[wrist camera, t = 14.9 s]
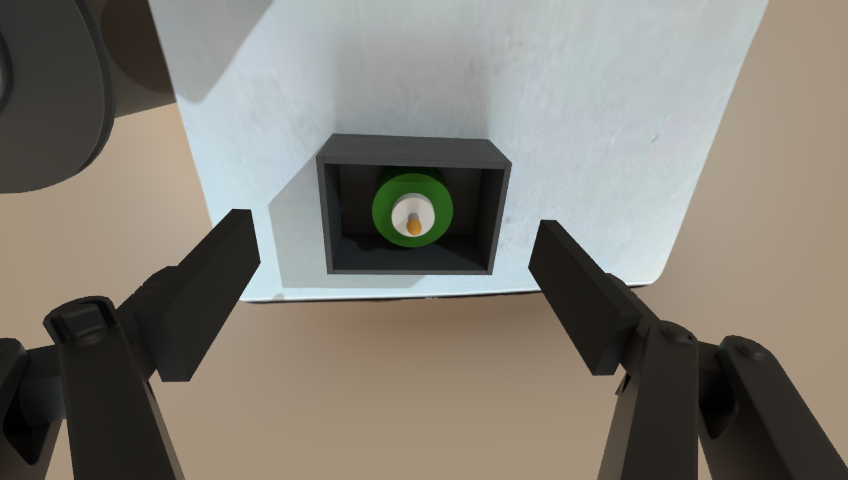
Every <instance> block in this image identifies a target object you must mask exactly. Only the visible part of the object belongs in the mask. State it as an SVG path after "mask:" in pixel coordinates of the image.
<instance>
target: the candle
mask: <svg viewBox="0 0 848 480" xmlns="http://www.w3.org/2000/svg"><path fill="white" fill-rule="evenodd" d="M372 215H373V220H374V223H375V226H376V227H377V229H378V231H379V232H380V233H381V234H382V235H383V236H384V237H385V238H386V239H387V240H389V241H390V242H392V243H394V244H397V245H400V246H404V247H421V246H424V245H428V244H430V243H432V242H434V241H435V240H437V239H438V238H440V237H441V236H442V235H443V234H444V233H445V231H446V230H447V228H448V227H449V225H450V222H451V220H452V215H453V204H452V200H451V197H450V194H449V191H448V188H447V185H446V182H445V180H444V178H443V176H442V174H441V172H440V171H439V170H438V168H436V167H424V166H393V165H388V166H387V167H385V168H384V170H383V171H382V172H381V173H380V175H379V177H378V179H377V182H376V186H375V192H374V199H373V205H372Z"/></svg>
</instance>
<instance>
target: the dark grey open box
mask: <svg viewBox="0 0 848 480" xmlns="http://www.w3.org/2000/svg"><path fill="white" fill-rule="evenodd" d="M316 162H317V172H318V183H319V193H320V203H321V213H322V224H323V234H324V244H325V254H326V264H327V274H376V275H492V272H493V266H494V261H495V255H496V250H497V244H498V239H499V233H500V228H501V222H502V216H503V211H504V205H505V200H506V194H507V189H508V183H509V178H510V172H511V166H512V163H511V162H510V161H509V160H508V159H507V158H506V157H505V156H504V154H503V153H502V152H501V151H500V150H499V149H498V148H497V147H496V146H495V145H494V144H493V143H492V142H491V141H490V140H484V139H459V138H434V137H409V136H383V135H358V134H332V136H331V137H330V138H329V140H328V141H327V142H326V144H325V145H324V146H323V148H322V149H321V150H320V152H319V153H318V154H317V156H316ZM388 165H393V166H424V167H436V168H438V170H439V171H440V172H441V174H442V176H443V178H444V180H445V182H446V185H447V188H448V191H449V194H450V197H451V200H452V204H453V215H452V220H451V222H450V225H449V227H448V228H447V230H446V231H445V233H444V234H443V235H442V236H441V237H440V238H438V239H437V240H435V241H434V242H432V243H430V244H428V245H424V246H421V247H404V246H400V245H397V244H394V243H392V242H390V241H389V240H387V239H386V238H385V237H384V236H383V235H382V234H381V233H380V232H379V231H378V229H377V227H376V226H375V223H374V220H373V215H372V205H373V199H374V192H375V186H376V182H377V179H378V177H379V175H380V173H381V172H382V171H383V170H384V168H385V167H387V166H388Z"/></svg>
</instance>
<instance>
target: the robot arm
mask: <svg viewBox="0 0 848 480" xmlns="http://www.w3.org/2000/svg"><path fill="white" fill-rule="evenodd" d="M12 87H13V67H12V62H11V57H10V54H9V51H8V48H7V45H6V43H5V40H4V38H3V36H2V34H1V32H0V110H1V109H2V108H3V107H4V106H5V105H6V103H7V102H8V100H9V97H10V95H11V91H12ZM260 263H261V262H260V256H259V251H258V245H257V240H256V234H255V229H254V224H253V218H252V213H251V210H249V209H232V210H231V211H230V212H229V213H228V214H227V215H226V216H225V217H224V218H223V219H222V220H221V221H220V222H219V223H218V224H217V225H216V226H215V227H214V228H213V229H212V230H211V231H210V232H209V234H208V235H207V236H206V237H205V238H204V239H203V240H202V241H201V242H200V243H199V244H198V245H197V246H196V247H195V248H194V249H193V250H192V251H191V252H190V253H189V254H188V255H187V256H186V257H185V258H184V259H183V260H182V261H181V262H180V263H179V265H178V266H167V267H165V268H164V269H162V270H160V271H158V272H156V273H154V274H153V275H152V276H151V277H150V278H148V279H147V280H146V281H145V282H144V283H143V286H140V287H139V288H138V289H137V290H136V291H135V293H134V294H132V295H131V296H130V297H129V298H128V299H127V300H126V301H124V302H123V303H122V304H121V305H120V306H119V307H118V308H117V309H115V307H114V305H113V303H112V301H111V300H110V299H109V298H108V297H104V296H88V297H84V298H79V299H76V300H73V301H70V302H67V303H65V304H62V305H61V306H59V307H57V308H55V309H54V310H52V311H51V312H50V313H49V314H48V315H47V316H46V317H45V318H44V321H43V325H44V327H45V328H46V330H47V332H48V333H49V335H50V337H51V338H52V340H53V341H54V343H55V345H50V346H45V347H40V348H35V349H30V350H25V349H24V347H23V346H22V344H21V343H20V342H19V341H18V340H16V339H14V338H0V480H45V476H46V473H47V470H48V467H49V463H50V460H51V456H52V453H53V450H54V447H55V443H56V440H57V436H58V433H59V429H60V426H61V423H62V420H63V419H67V427H68V435H69V443H70V451H71V459H72V467H73V475H74V480H185V477H184V475H183V472H182V469H181V467H180V464H179V461H178V458H177V456H176V453H175V450H174V447H173V445H172V442H171V439H170V436H169V434H168V431H167V428H166V426H165V423H164V420H163V417H162V414H161V412H160V409H159V406H158V404H157V401H156V398H155V395H154V392H153V390H152V387H151V385H150V383H149V381H148V380H149V378H150V377H151V375H152V374H153V373H154V371H155V370H156V369H157V371H158V373H159V375H160V377H161V380H162V382H182V381H183V382H186V381H187V382H188V381H190V379H191V378H192V376H193V374H194V373H195V371H196V369H197V368H198V366H199V364H200V363H201V361H202V359H203V358H204V356H205V354H206V353H207V351H208V349H209V348H210V346H211V344H212V342H213V341H214V339H215V338H216V336H217V334H218V333H219V331H220V330H221V328H222V326H223V325H224V323H225V321H226V319H227V318H228V316H229V314H230V313H231V311H232V310H233V308H234V306H235V305H236V303H237V301H238V300H239V298H240V296H241V295H242V293H243V291H244V290H245V288H246V286H247V285H248V283H249V281H250V280H251V278H252V276H253V275H254V273H255V271H256V270H257V268H258V267H259V265H260ZM528 269H529V271H530V272H531V274H532V276H533V277H534V279H535V281H536V282H537V284H538V285H539V287H540V289H541V290H542V292H543V294H544V295H545V297H546V299H547V300H548V302H549V304H550V305H551V307H552V308H553V310H554V312H555V314H556V315H557V317H558V319H559V320H560V322H561V324H562V325H563V327H564V329H565V330H566V332H567V334H568V335H569V337H570V339H571V340H572V342H573V344H574V345H575V347H576V349H577V350H578V352H579V353H580V355H581V357H582V359H583V360H584V362H585V363H586V365H587V367H588V368H589V370H590V372H591V373H592V375H594V376H597V375H614V373H615V371H616V369H617V367H618V365H619V363H621V365H622V366H623V368H624V369H625V370H626V374H625V376H624V378H623V379H622V381H621V383H620V385H619V387H618V389H617V391H616V393H615V394H616V395H618V399H617V404H616V407H615V411H614V416H613V419H612V423H611V427H610V431H609V435H608V439H607V443H606V447H605V451H604V455H603V459H602V462H601V467H600V470H599V474H598V479H597V480H698V435H699V439H700V442H701V445H702V448H703V451H704V454H705V458H706V461H707V464H708V467H709V471H710V474H711V477H712V480H848V468H847V466H846V465H845V463H844V462H843V460H842V459H841V457H840V455H839V454H838V453H837V451H836V449H835V448H834V446H833V445H832V443H831V442H830V440H829V439H828V437H827V436H826V434H825V432H824V431H823V429H822V428H821V427H820V425H819V423H818V422H817V420H816V419H815V417H814V416H813V414H812V413H811V411H810V409H809V408H808V406H807V405H806V403H805V402H804V400H803V399H802V397H801V396H800V394H799V393H798V391H797V390H796V388H795V386H794V385H793V383H792V382H791V380H790V379H789V377H788V376H787V374H786V373H785V371H784V370H783V368H782V367H781V365H780V364H779V362H778V360H777V359H776V358H775V356H774V355H773V354H772V353H771V352H770V351H768V350H767V349H766V348H764V347H763V346H762V345H760V344H759V343H756V342H755V341H753V340H750V339H747V338H744V337H740V336H735V335H731V336H726V337H725V338H724V339H723V341H722V342H721V344H720V345H719V346H718V345H714V344H709V343H705V342H700V341H698V340H697V338H696V337H695V336H694V335H693V334H692V333H691V332H690V331H688V330H687V329H685V328H684V327H682V326H680V325H678V324H676V323H673V322H669V321H663V320H660V319H659V318H658V317H657V316H656V315H655V314H654V313H653V312H652V311H651V310H650V309H649V308H648V307H647V306H646V305H645V304H644V303H643V302H642V301H641V300H640V299H639V298H637V295H636V294H635V293H634V292H633V291H631V289H630V288H629V287H628V286H627V285H626V284H625V283H624V282H623V281H622V280H620V279H619V278H617V277H616V276H614V275H612V274H611V273H605V272H604V271H603V270H602V269H601V268H600V267H599V266H598V265H597V264H596V263H595V261H594V260H593V259H592V258H591V257H590V256H589V255H588V254H587V253H586V252H585V251H584V250H583V249H582V247H581V246H580V245H579V244H578V243H577V242H576V241H575V240H574V239H573V238H572V237H571V236H570V234H569V233H568V232H567V231H566V230H565V229H564V228H563V227H562V226H561V225H560V224H559V223H558V222H557V220H541V221H540V225H539V228H538V232H537V236H536V240H535V243H534V247H533V251H532V255H531V258H530V262H529V266H528Z"/></svg>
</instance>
